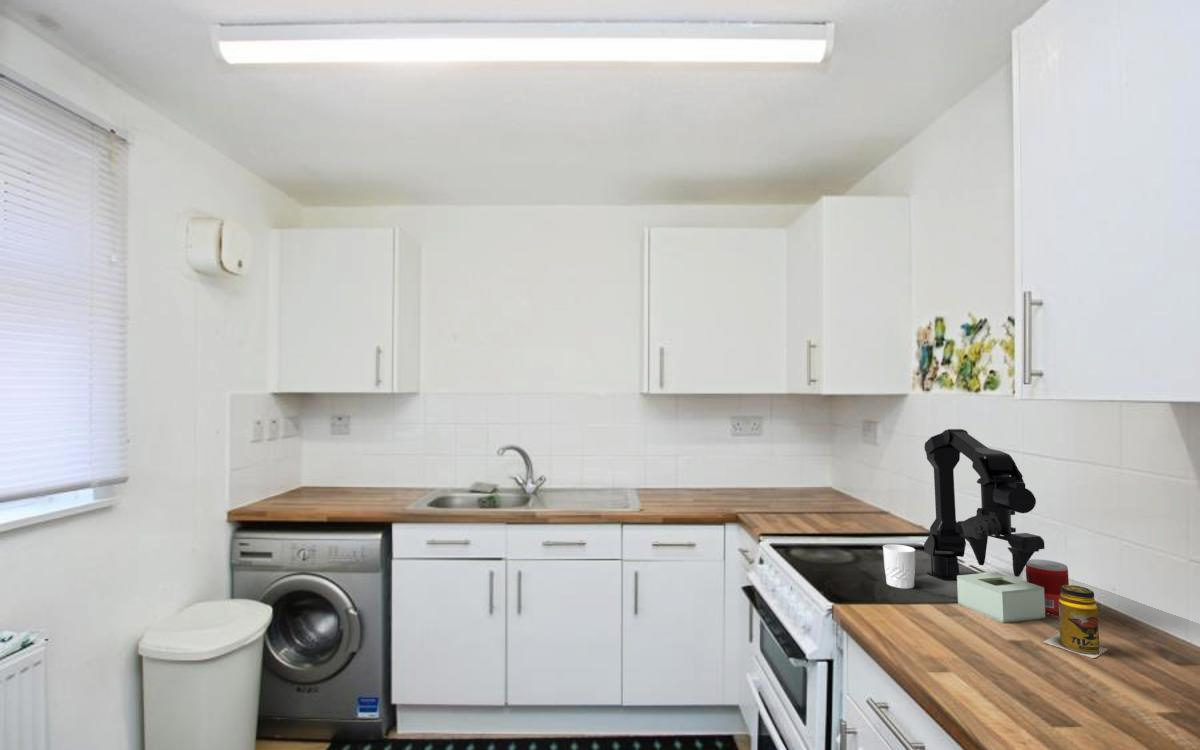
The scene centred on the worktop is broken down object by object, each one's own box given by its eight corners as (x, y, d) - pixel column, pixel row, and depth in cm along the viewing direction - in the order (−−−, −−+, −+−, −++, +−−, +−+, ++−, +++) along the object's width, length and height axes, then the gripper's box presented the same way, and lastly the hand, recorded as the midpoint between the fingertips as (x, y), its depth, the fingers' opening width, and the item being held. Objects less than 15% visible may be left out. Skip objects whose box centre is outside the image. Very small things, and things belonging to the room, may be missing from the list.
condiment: (1094, 659, 107) (1091, 596, 108) (1042, 643, 114) (1039, 584, 115) (1108, 650, 111) (1105, 589, 111) (1056, 635, 118) (1054, 578, 119)
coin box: (958, 604, 136) (956, 575, 136) (997, 600, 139) (996, 572, 139) (1003, 623, 124) (1002, 591, 125) (1045, 618, 127) (1044, 587, 127)
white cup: (891, 578, 156) (890, 542, 157) (921, 585, 150) (920, 548, 151) (878, 584, 151) (877, 547, 152) (909, 591, 145) (908, 553, 146)
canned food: (1078, 616, 128) (1076, 568, 129) (1044, 615, 128) (1041, 568, 129) (1052, 604, 136) (1050, 559, 137) (1019, 604, 136) (1017, 559, 137)
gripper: (936, 500, 140) (938, 562, 139) (1005, 514, 122) (1008, 585, 121) (972, 498, 143) (974, 559, 142) (1044, 511, 124) (1048, 581, 124)
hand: (998, 570), depth 132 cm, fingers open, 9 cm apart
